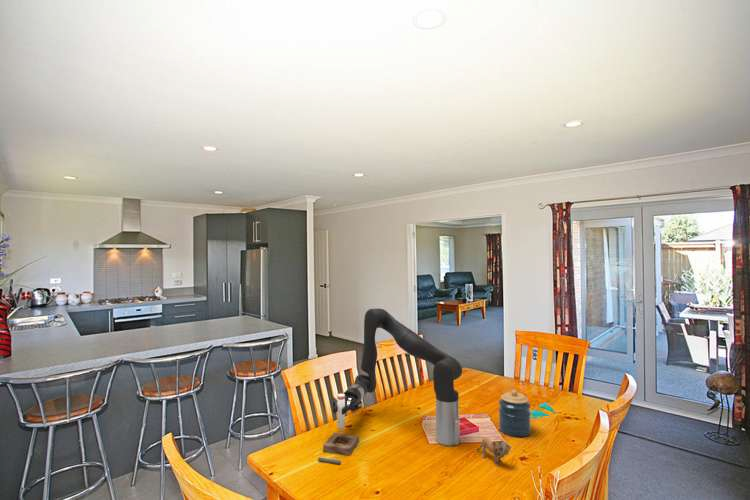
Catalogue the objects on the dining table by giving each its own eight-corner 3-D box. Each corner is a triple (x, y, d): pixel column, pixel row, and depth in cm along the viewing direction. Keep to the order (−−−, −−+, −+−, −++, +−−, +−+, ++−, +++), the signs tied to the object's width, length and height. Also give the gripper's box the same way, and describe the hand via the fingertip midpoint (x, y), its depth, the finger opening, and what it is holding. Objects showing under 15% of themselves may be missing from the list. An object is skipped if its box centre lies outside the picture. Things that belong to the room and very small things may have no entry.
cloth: (540, 424, 174) (540, 419, 174) (514, 413, 185) (514, 409, 185) (572, 411, 188) (572, 406, 188) (547, 402, 199) (547, 398, 199)
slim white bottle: (346, 426, 154) (346, 393, 154) (343, 429, 151) (343, 396, 151) (339, 425, 155) (339, 393, 155) (336, 428, 152) (336, 395, 152)
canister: (531, 427, 169) (531, 387, 169) (530, 440, 157) (529, 397, 157) (500, 422, 174) (500, 383, 175) (497, 434, 163) (496, 392, 163)
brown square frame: (359, 442, 156) (359, 436, 156) (349, 455, 146) (349, 449, 146) (334, 438, 160) (334, 432, 160) (323, 451, 149) (323, 445, 149)
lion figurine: (513, 465, 138) (513, 440, 138) (504, 470, 135) (504, 445, 135) (480, 449, 150) (480, 426, 150) (471, 453, 147) (471, 429, 147)
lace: (341, 463, 140) (341, 460, 140) (340, 465, 139) (340, 461, 139) (318, 459, 143) (318, 456, 143) (317, 461, 142) (317, 458, 142)
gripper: (338, 385, 169) (322, 399, 152) (368, 388, 165) (355, 404, 148) (338, 402, 169) (322, 418, 152) (368, 406, 165) (355, 423, 148)
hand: (338, 411), depth 150 cm, fingers closed on slim white bottle, 3 cm apart
